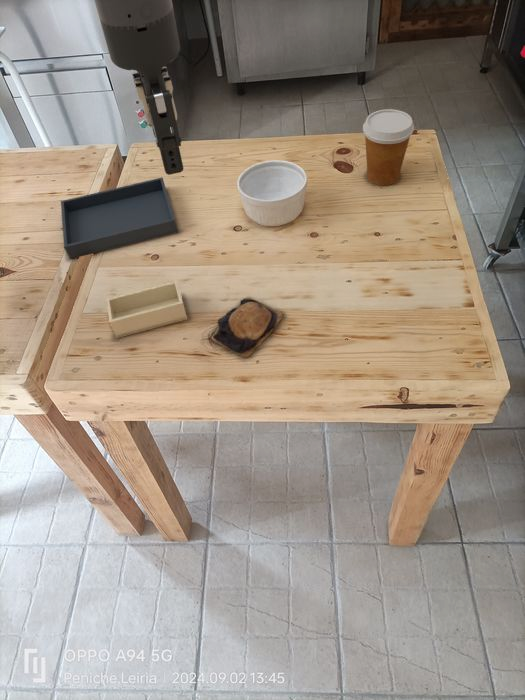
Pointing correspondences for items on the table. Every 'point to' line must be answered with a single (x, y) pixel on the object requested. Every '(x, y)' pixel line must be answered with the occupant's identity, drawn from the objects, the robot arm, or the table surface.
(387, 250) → the table surface
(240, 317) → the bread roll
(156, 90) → the robot arm
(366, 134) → the disposable coffee cup
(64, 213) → the tray
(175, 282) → the beige open box
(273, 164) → the ramekin
